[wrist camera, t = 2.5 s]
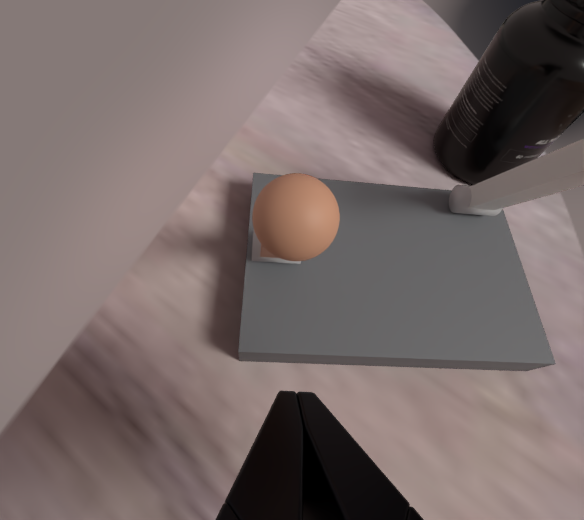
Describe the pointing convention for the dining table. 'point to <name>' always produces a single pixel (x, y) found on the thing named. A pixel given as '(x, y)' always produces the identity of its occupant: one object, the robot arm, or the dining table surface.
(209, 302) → the dining table surface
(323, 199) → the terracotta lever
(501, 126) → the supplement bottle
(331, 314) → the switch panel
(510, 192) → the pale grey lever
